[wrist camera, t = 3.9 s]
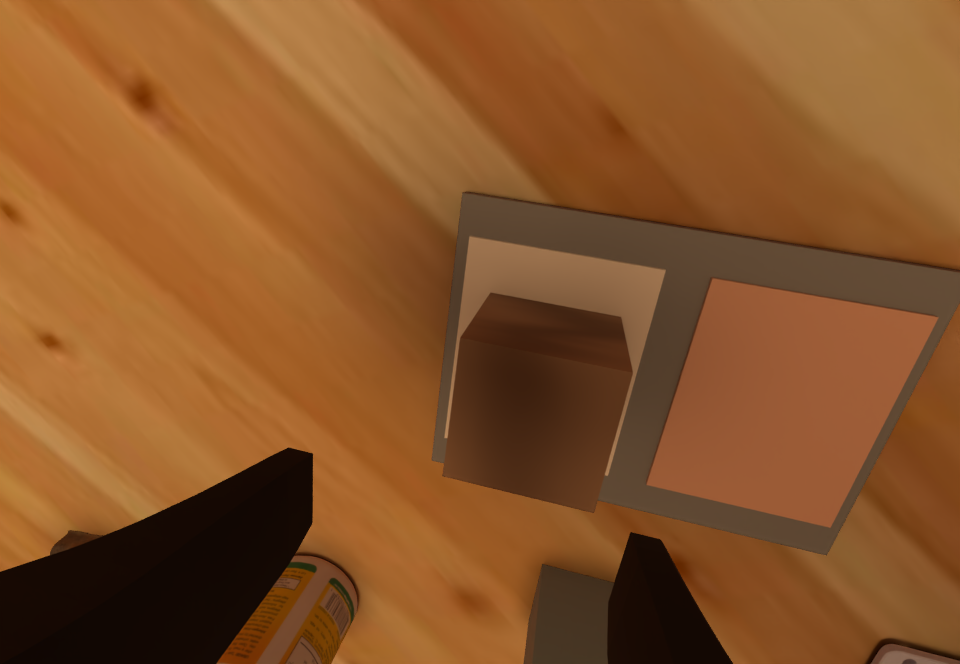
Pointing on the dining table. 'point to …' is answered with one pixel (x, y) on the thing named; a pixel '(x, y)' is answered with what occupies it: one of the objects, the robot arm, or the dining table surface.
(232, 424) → the dining table surface
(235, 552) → the robot arm
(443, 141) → the dining table surface
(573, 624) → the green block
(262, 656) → the supplement bottle
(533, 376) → the walnut block
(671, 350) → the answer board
